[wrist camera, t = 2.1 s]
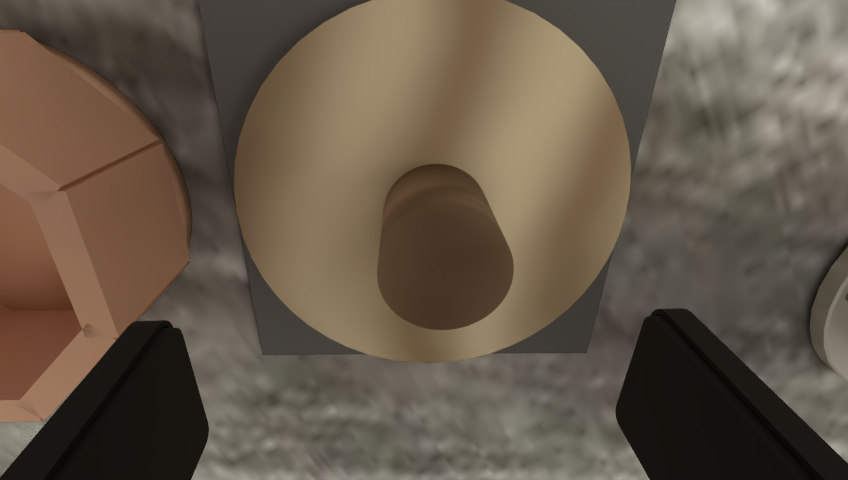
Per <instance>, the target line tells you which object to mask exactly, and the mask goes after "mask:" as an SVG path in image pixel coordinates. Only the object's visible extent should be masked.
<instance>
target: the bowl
mask: <svg viewBox="0 0 848 480" xmlns="http://www.w3.org/2000/svg"><path fill="white" fill-rule="evenodd" d="M191 232H192V212H191V206H190V200H189V195H188V191H187V188H186V185H185V181H184V178H183V175H182V173H181V171H180V169H179V167H178V164H177V162H176V160H175V158H174V156H173V154H172V153H171V151H170V149H169V148H168V146H167V144H166V142H165V141H164V139H163V138H162V136H161V135H160V134H159V132H158V131H157V130H156V128H155V127H154V126H153V124H152V123H151V122H150V120H149V119H148V118H147V117H146V116H145V115H144V114H143V113H142V112H141V111H140V109H139V108H138V107H137V106H136V105H135V104H134V103H133V102H132V101H131V100H130V99H129V98H128V97H126V96H125V95H124V94H123V93H122V92H121V91H120V90H119V89H118V88H116V87H115V86H114V85H113V84H112V83H110V82H109V81H107V80H106V79H105V78H103V77H102V76H101V75H99V74H98V73H97V72H95V71H94V70H92V69H91V68H89V67H87V66H86V65H84V64H82V63H81V62H79V61H77V60H76V59H74V58H72V57H71V56H69V55H67V54H65V53H63V52H60V51H58V50H56V49H54V48H52V47H50V46H47V45H45V44H43V43H40V42H37V41H35V40H34V39H33V38H32V37H30V36H29V35H28V34H26V33H25V32H20V30H2V29H0V422H8V421H42V420H43V419H44V420H45V419H46V418H47V417H48V416H49V415H50V414H51V413H52V412H53V411H54V410H55V409H56V407H57V406H58V405H59V404H60V403H61V402H62V401H63V400H64V399H65V398H66V397H67V396H68V395H69V394H70V393H71V391H72V390H73V389H74V388H75V387H76V386H77V385H78V384H79V383H80V382H81V381H82V380H83V379H84V378H85V377H86V375H87V374H88V373H89V372H90V371H91V369H92V368H93V367H94V366H95V365H96V364H97V362H98V361H99V360H100V359H101V358H102V356H103V355H104V354H105V353H106V352H107V351H108V349H109V348H110V347H111V346H112V345H113V343H114V342H115V341H116V340H117V339H118V338H119V336H120V335H121V334H122V333H123V332H124V330H125V329H126V328H127V327H128V326H129V325H130V324H131V323H132V322H135V321H137V320H138V319H139V318H140V317H141V316H142V315H143V313H144V312H145V311H146V310H147V309H148V308H149V307H150V306H151V305H152V303H153V302H154V301H155V300H156V299H157V298H158V297H159V296H160V294H161V293H162V292H163V291H164V290H165V289H166V288H167V287H168V286H169V284H170V283H171V282H172V281H173V280H174V279H175V278H176V277H177V276H178V274H179V273H180V272H181V271H182V270H183V269H184V268H185V267H186V266H187V264H188V263H189V262H190V261H189V260H190V259H191V258H190V254H189V250H188V248H189V245H190V239H191Z"/></svg>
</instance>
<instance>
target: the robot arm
mask: <svg viewBox="0 0 848 480" xmlns="http://www.w3.org/2000/svg"><path fill="white" fill-rule="evenodd" d="M810 334H811V341H812V345H813V347H814V349H815V351H816V352H817V354H818V356H819V358H820V359H821V360H822V361H823V362H824V363H825V364H826V365H827V366H828V367H830V368H831V369H832V370H833V371H835V372H836V373H837V374H838V375H840V376H841V377H842V378H844V379H845V380H846V381H848V246H847V247H846V249H845V250H844V251H843V252H842V254H841V255H840V256H839V257H838V259H837V260H836V261H835V263H834V264H833V265H832V266H831V268H830V270H829V272H828V273H827V275H826V277H825V278H824V280H823V282H822V284H821V285H820V287H819V290H818V293H817V295H816V298H815V301H814V304H813V306H812V311H811V319H810ZM616 418H617V421H618V424H619V426H620V428H621V430H622V431H623V433H624V435H625V437H626V438H627V440H628V442H629V444H630V445H631V447H632V449H633V451H634V452H635V454H636V456H637V458H638V459H639V461H640V463H641V465H642V467H643V468H644V470H645V472H646V474H647V475H648V477H649V479H650V480H848V463H847V462H846V461H845V460H844V459H843V458H841V457H840V456H839V455H838V454H837V453H836V452H835V451H834V450H833V449H832V448H831V447H830V446H829V445H828V444H827V443H826V442H825V441H824V440H823V439H822V438H821V437H820V436H819V435H818V434H817V433H816V432H815V431H814V430H812V429H811V428H810V427H809V426H808V425H807V424H806V423H805V422H804V421H803V420H802V419H801V418H800V417H799V416H798V415H797V414H796V413H795V412H794V411H793V410H792V409H791V408H790V407H789V406H788V405H787V404H786V403H785V402H784V401H782V400H781V399H780V398H779V397H778V396H777V395H776V394H775V393H774V392H773V391H772V390H771V389H770V388H769V387H768V386H767V385H766V384H765V383H764V382H763V381H762V380H761V379H760V378H759V377H758V376H757V375H756V374H755V373H754V372H752V371H751V370H750V369H749V368H748V367H747V366H746V365H745V364H744V363H743V362H742V361H741V360H740V359H739V358H738V357H737V356H736V355H735V354H734V353H733V352H732V351H731V350H730V349H729V348H728V347H727V346H726V345H725V344H723V343H722V342H721V341H720V340H719V339H718V338H717V337H716V336H715V335H714V334H713V333H712V332H711V331H710V330H709V329H708V328H707V327H706V326H705V325H704V324H703V323H702V322H701V321H700V320H699V319H698V318H697V317H696V316H695V315H693V314H692V313H691V312H690V311H689V310H687V309H657V310H655V311H653V312H652V314H651V316H649V317H647V318H645V320H644V322H643V325H642V328H641V331H640V334H639V337H638V340H637V343H636V347H635V350H634V353H633V356H632V359H631V362H630V365H629V368H628V371H627V374H626V378H625V381H624V384H623V387H622V390H621V393H620V396H619V399H618V402H617V405H616ZM208 432H209V426H208V421H207V418H206V414H205V411H204V407H203V404H202V400H201V397H200V393H199V390H198V386H197V383H196V379H195V376H194V372H193V369H192V365H191V362H190V358H189V355H188V352H187V348H186V345H185V341H184V338H183V334H182V332H181V330H180V329H179V328H173V326H172V324H171V323H170V322H169V321H135V322H132V323H131V324H130V325H129V326H128V327H127V328H126V329H125V330H124V332H123V333H122V334H121V335H120V336H119V338H118V339H117V340H116V341H115V342H114V343H113V345H112V346H111V347H110V348H109V349H108V351H107V352H106V353H105V354H104V355H103V356H102V358H101V359H100V360H99V361H98V362H97V364H96V365H95V366H94V367H93V368H92V369H91V371H90V372H89V373H88V374H87V375H86V377H85V378H84V379H83V380H82V381H81V383H80V384H79V385H78V386H77V387H76V388H75V390H74V391H73V392H72V393H71V394H70V396H69V397H68V398H67V399H66V400H65V401H64V403H63V404H62V405H61V406H60V407H59V409H58V410H57V411H56V412H55V413H54V414H53V416H52V417H51V418H50V419H49V420H48V422H47V423H46V424H45V425H44V426H43V428H42V429H41V430H40V431H39V432H38V433H37V435H36V436H35V437H34V438H33V439H32V441H31V442H30V443H29V444H28V445H27V446H26V448H25V449H24V450H23V451H22V452H21V454H20V455H19V456H18V457H17V458H16V460H15V461H14V462H13V463H12V464H11V465H10V467H9V468H8V469H7V470H6V471H5V473H4V474H3V475H2V476H1V477H0V480H191V478H192V476H193V473H194V471H195V469H196V466H197V464H198V462H199V459H200V457H201V455H202V452H203V450H204V448H205V445H206V442H207V439H208Z"/></svg>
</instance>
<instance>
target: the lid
mask: <svg viewBox="0 0 848 480" xmlns="http://www.w3.org/2000/svg"><path fill="white" fill-rule="evenodd" d="M630 179H631V161H630V150H629V141H628V137H627V133H626V129H625V125H624V121H623V117H622V115H621V112H620V110H619V107H618V105H617V102H616V100H615V97H614V95H613V93H612V91H611V89H610V88H609V86H608V84H607V83H606V81H605V79H604V78H603V76H602V74H601V73H600V71H599V69H598V68H597V67H596V66H595V65H594V63H593V62H592V61H591V60H590V59H589V57H588V56H587V55H586V54H585V53H584V51H583V50H582V49H581V48H580V47H579V46H578V45H577V44H576V43H574V42H573V41H572V40H571V39H570V38H569V37H568V36H567V35H565V34H564V33H563V32H562V31H561V30H560V29H558V28H557V27H555V26H554V25H552V24H551V23H549V22H547V21H546V20H544V19H543V18H541V17H540V16H538V15H536V14H535V13H533V12H531V11H528V10H526V9H524V8H522V7H519V6H517V5H515V4H512V3H510V2H508V1H505V0H371V1H368V2H366V3H363V4H360V5H357V6H355V7H352V8H350V9H348V10H346V11H344V12H342V13H340V14H339V15H337V16H335V17H333V18H331V19H329V20H327V21H326V22H324V23H322V24H321V25H320V26H318V27H317V28H316V29H314V30H313V31H312V32H310V33H309V34H308V35H306V36H305V37H304V38H302V39H301V40H300V41H299V42H298V43H297V44H296V45H295V46H294V47H293V48H292V49H291V50H290V51H289V52H288V53H287V54H286V55H285V56H284V57H283V58H282V59H281V60H280V61H279V62H278V63H277V65H276V66H275V67H274V69H273V70H272V72H271V73H270V74H269V76H268V77H267V79H266V80H265V81H264V83H263V84H262V85H261V87H260V89H259V91H258V93H257V95H256V97H255V99H254V101H253V103H252V105H251V107H250V109H249V110H248V113H247V116H246V119H245V122H244V125H243V128H242V131H241V134H240V137H239V142H238V148H237V153H236V159H235V172H234V193H235V202H236V211H237V216H238V220H239V224H240V227H241V231H242V235H243V238H244V240H245V243H246V245H247V248H248V250H249V253H250V255H251V258H252V259H253V261H254V263H255V265H256V266H257V268H258V270H259V272H260V273H261V275H262V277H263V278H264V280H265V281H266V282H267V284H268V285H269V286H270V288H271V289H272V290H273V292H274V293H275V294H276V296H277V297H278V298H279V299H280V300H281V301H282V302H283V303H284V304H285V305H286V306H287V307H288V308H289V309H290V310H291V311H292V312H293V313H294V314H295V315H297V316H298V317H299V318H300V319H302V320H303V321H304V322H305V323H307V324H308V325H309V326H311V327H312V328H314V329H315V330H317V331H318V332H320V333H322V334H323V335H325V336H326V337H328V338H330V339H332V340H334V341H336V342H338V343H340V344H342V345H344V346H346V347H349V348H352V349H354V350H357V351H360V352H363V353H365V354H369V355H373V356H377V357H381V358H385V359H390V360H397V361H404V362H419V363H436V362H451V361H458V360H464V359H470V358H474V357H478V356H482V355H486V354H489V353H493V352H495V351H498V350H501V349H503V348H506V347H509V346H511V345H513V344H515V343H517V342H519V341H521V340H523V339H526V338H528V337H530V336H531V335H533V334H535V333H536V332H538V331H539V330H541V329H542V328H544V327H546V326H547V325H549V324H550V323H551V322H553V321H554V320H555V319H556V318H558V317H559V316H560V315H562V314H563V313H564V312H565V311H567V310H568V309H569V308H570V307H571V306H572V305H573V304H574V303H575V302H576V301H577V300H578V299H579V298H580V297H581V296H582V295H583V293H584V292H585V291H586V290H587V288H588V287H589V286H590V285H591V284H592V282H593V281H594V280H595V279H596V277H597V276H598V274H599V272H600V271H601V269H602V268H603V266H604V265H605V263H606V261H607V260H608V258H609V256H610V254H611V252H612V250H613V248H614V245H615V243H616V241H617V239H618V237H619V234H620V231H621V228H622V224H623V221H624V218H625V215H626V210H627V205H628V199H629V194H630Z"/></svg>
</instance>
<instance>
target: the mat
mask: <svg viewBox="0 0 848 480" xmlns="http://www.w3.org/2000/svg"><path fill="white" fill-rule="evenodd" d="M368 1H371V0H198V4H199V9H200V15H201V20H202V26H203V31H204V37H205V42H206V48H207V53H208V59H209V64H210V70H211V75H212V81H213V86H214V92H215V97H216V102H217V108H218V113H219V119H220V124H221V130H222V135H223V141H224V146H225V152H226V157H227V163H228V168H229V174H230V179H231V185H232V190H233V196H234V201H235V193H234V172H235V159H236V153H237V148H238V142H239V137H240V134H241V131H242V128H243V125H244V122H245V119H246V116H247V113H248V110H249V109H250V107H251V105H252V103H253V101H254V99H255V97H256V95H257V93H258V91H259V89H260V87H261V85H262V84H263V83H264V81H265V80H266V79H267V77H268V76H269V74H270V73H271V72H272V70H273V69H274V67H275V66H276V65H277V63H278V62H279V61H280V60H281V59H282V58H283V57H284V56H285V55H286V54H287V53H288V52H289V51H290V50H291V49H292V48H293V47H294V46H295V45H296V44H297V43H298V42H299V41H300V40H301V39H302V38H304V37H305V36H306V35H308V34H309V33H310V32H312V31H313V30H314V29H316V28H317V27H318V26H320V25H321V24H322V23H324V22H326V21H327V20H329V19H331V18H333V17H335V16H337V15H339V14H340V13H342V12H344V11H346V10H348V9H350V8H352V7H355V6H357V5H360V4H363V3H366V2H368ZM505 1H508V2H510V3H512V4H515V5H517V6H519V7H522V8H524V9H526V10H528V11H531V12H533V13H535V14H536V15H538V16H540V17H541V18H543V19H544V20H546V21H547V22H549V23H551V24H552V25H554V26H555V27H557V28H558V29H560V30H561V31H562V32H563V33H564V34H565V35H567V36H568V37H569V38H570V39H571V40H572V41H573V42H574V43H576V44H577V45H578V46H579V47H580V48H581V49H582V50H583V51H584V53H585V54H586V55H587V56H588V57H589V59H590V60H591V61H592V62H593V63H594V65H595V66H596V67H597V68H598V69H599V71H600V73H601V74H602V76H603V78H604V79H605V81H606V83H607V84H608V86H609V88H610V89H611V91H612V93H613V95H614V97H615V100H616V102H617V105H618V107H619V110H620V112H621V115H622V117H623V121H624V125H625V129H626V133H627V137H628V141H629V150H630V161H631V176H632V172H633V168H634V164H635V160H636V156H637V152H638V148H639V144H640V140H641V137H642V133H643V129H644V125H645V121H646V117H647V113H648V109H649V105H650V101H651V97H652V93H653V89H654V85H655V81H656V78H657V74H658V70H659V66H660V62H661V58H662V54H663V50H664V46H665V42H666V38H667V34H668V30H669V26H670V22H671V19H672V15H673V11H674V7H675V3H676V0H505ZM630 180H631V179H630ZM235 207H236V202H235ZM236 212H237V211H236ZM237 218H238V216H237ZM238 223H239V220H238ZM239 229H240V234H241V240H242V245H243V251H244V256H245V262H246V267H247V273H248V278H249V283H250V289H251V294H252V300H253V305H254V311H255V316H256V322H257V327H258V333H259V338H260V344H261V349H262V355H313V354H365V353H363V352H360V351H357V350H354V349H352V348H349V347H346V346H344V345H342V344H340V343H338V342H336V341H334V340H332V339H330V338H328V337H326V336H325V335H323V334H322V333H320V332H318V331H317V330H315V329H314V328H312V327H311V326H309V325H308V324H307V323H305V322H304V321H303V320H302V319H300V318H299V317H298V316H297V315H295V314H294V313H293V312H292V311H291V310H290V309H289V308H288V307H287V306H286V305H285V304H284V303H283V302H282V301H281V300H280V299H279V298H278V297H277V296H276V294H275V293H274V292H273V290H272V289H271V288H270V286H269V285H268V284H267V282H266V281H265V280H264V278H263V277H262V275H261V273H260V272H259V270H258V268H257V266H256V265H255V263H254V261H253V259H252V258H251V255H250V253H249V250H248V248H247V245H246V243H245V240H244V238H243V235H242V231H241V227H240V224H239ZM612 251H613V250H612ZM611 255H612V252H611V254H610V256H609V258H608V260H607V261H606V263H605V265H604V266H603V268H602V269H601V271H600V272H599V274H598V276H597V277H596V279H595V280H594V281H593V282H592V284H591V285H590V286H589V287H588V288H587V290H586V291H585V292H584V293H583V295H582V296H581V297H580V298H579V299H578V300H577V301H576V302H575V303H574V304H573V305H572V306H571V307H570V308H569V309H568V310H567V311H565V312H564V313H563V314H562V315H560V316H559V317H558V318H556V319H555V320H554V321H553V322H551V323H550V324H549V325H547V326H546V327H544V328H542V329H541V330H539V331H538V332H536V333H535V334H533V335H531V336H530V337H528V338H526V339H523V340H521V341H519V342H517V343H515V344H513V345H511V346H509V347H506V348H503V349H501V350H498V351H495V352H493V353H587V349H588V345H589V341H590V337H591V333H592V329H593V325H594V321H595V318H596V314H597V310H598V306H599V302H600V298H601V294H602V290H603V286H604V282H605V278H606V274H607V270H608V266H609V262H610V259H611Z"/></svg>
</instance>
